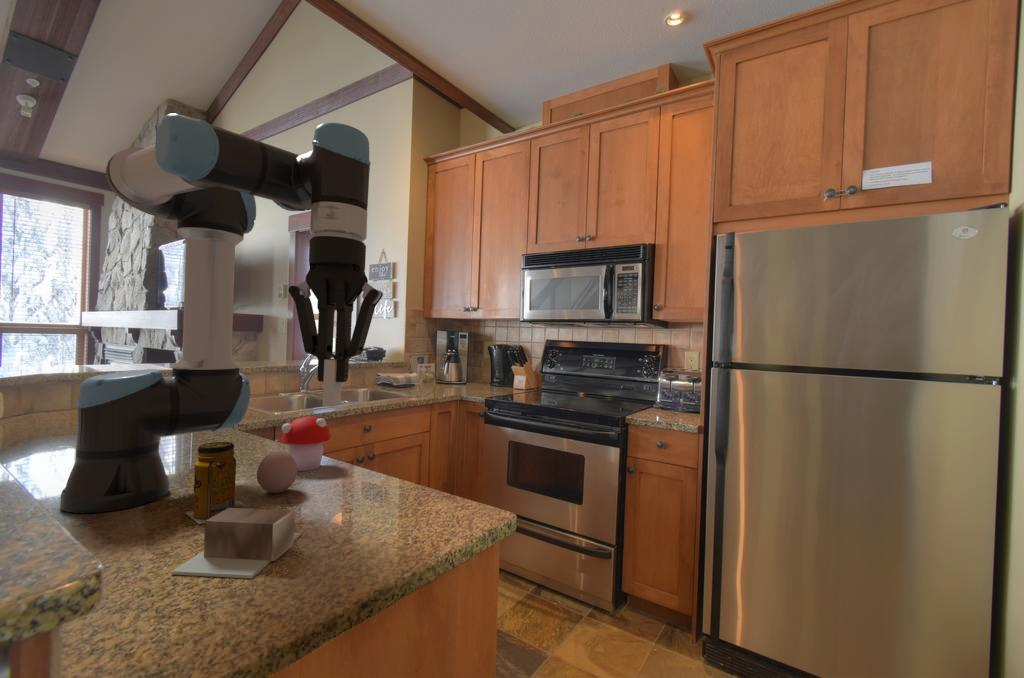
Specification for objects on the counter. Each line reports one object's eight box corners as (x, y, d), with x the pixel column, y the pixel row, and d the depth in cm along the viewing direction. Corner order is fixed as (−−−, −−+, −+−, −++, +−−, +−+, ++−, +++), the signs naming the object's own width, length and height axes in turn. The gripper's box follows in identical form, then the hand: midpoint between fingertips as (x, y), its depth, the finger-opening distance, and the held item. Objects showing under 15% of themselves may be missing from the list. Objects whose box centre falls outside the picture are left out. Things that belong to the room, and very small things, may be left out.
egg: (265, 486, 94) (267, 445, 94) (302, 486, 95) (303, 446, 95) (249, 498, 87) (250, 454, 87) (288, 498, 88) (290, 455, 88)
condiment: (184, 513, 79) (187, 443, 79) (238, 501, 86) (241, 437, 86) (198, 525, 75) (201, 451, 75) (254, 511, 81) (257, 443, 81)
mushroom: (269, 469, 106) (270, 417, 106) (306, 458, 116) (308, 410, 116) (304, 475, 102) (306, 421, 102) (339, 464, 112) (341, 414, 112)
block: (275, 560, 63) (203, 557, 63) (293, 544, 68) (227, 541, 68) (276, 524, 63) (205, 520, 63) (294, 510, 68) (228, 507, 68)
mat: (171, 574, 59) (171, 571, 59) (235, 532, 72) (235, 529, 72) (251, 578, 59) (251, 575, 59) (300, 535, 72) (301, 532, 72)
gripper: (279, 231, 62) (272, 406, 62) (375, 235, 61) (368, 411, 62) (306, 243, 69) (299, 399, 69) (391, 246, 69) (385, 403, 69)
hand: (331, 404), depth 66 cm, fingers closed
